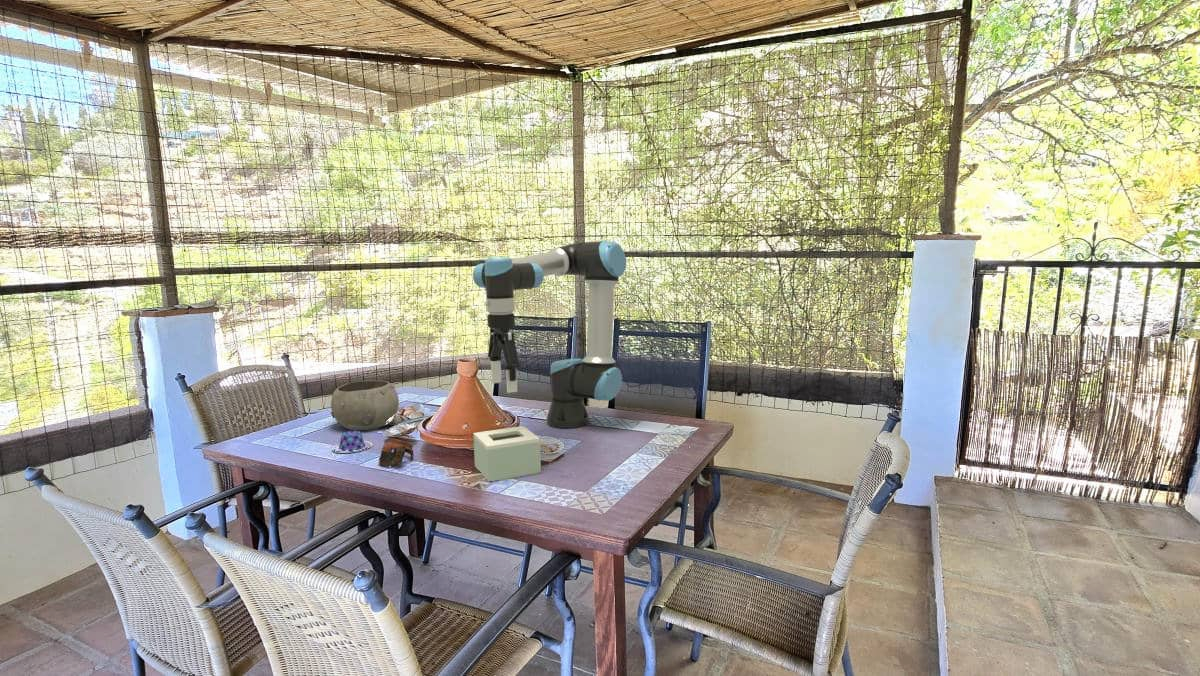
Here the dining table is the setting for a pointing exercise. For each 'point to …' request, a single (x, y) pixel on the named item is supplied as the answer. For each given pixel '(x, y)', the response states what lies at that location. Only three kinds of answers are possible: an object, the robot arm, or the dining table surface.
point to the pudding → (351, 441)
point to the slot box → (507, 453)
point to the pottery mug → (398, 453)
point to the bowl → (364, 404)
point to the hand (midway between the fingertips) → (504, 387)
